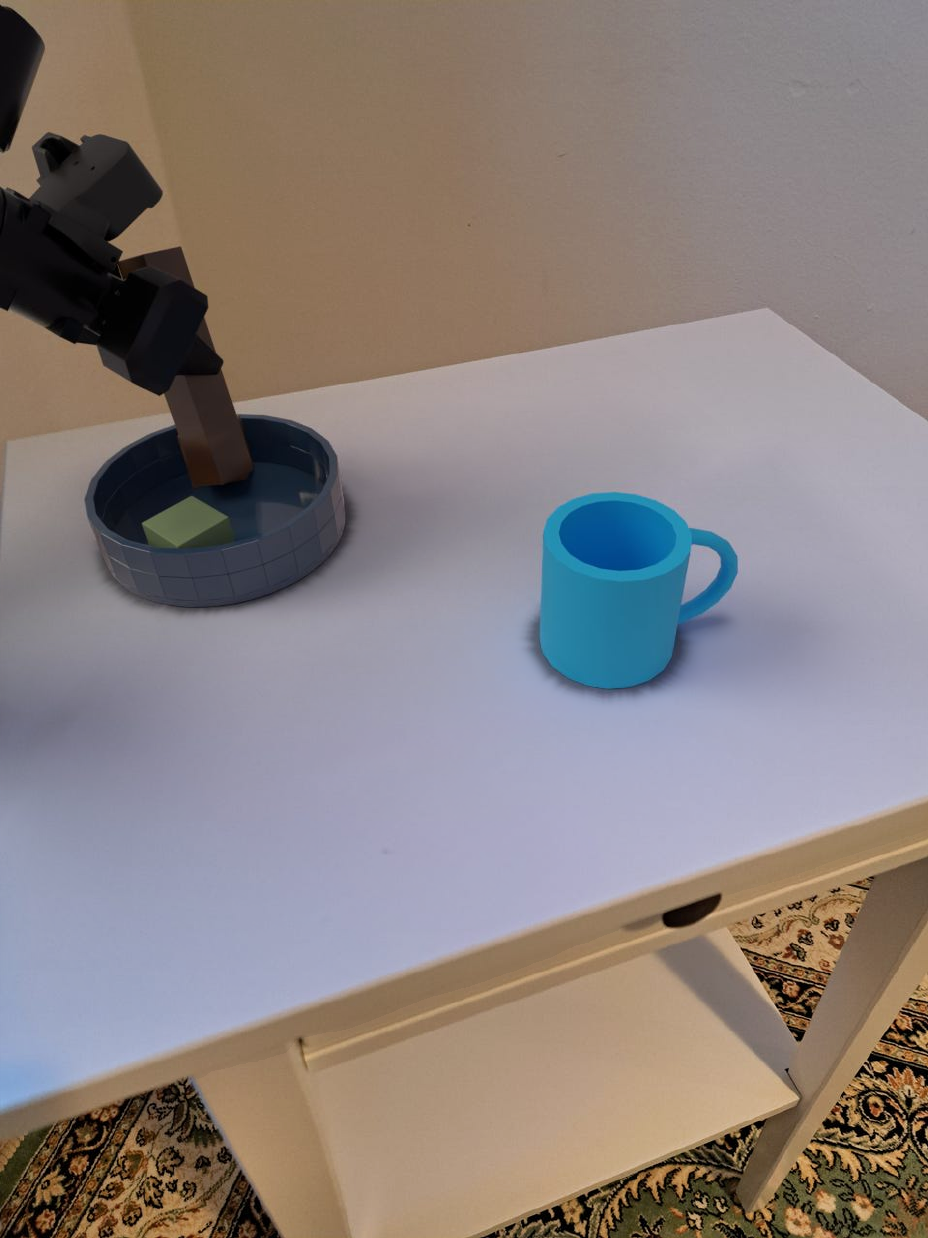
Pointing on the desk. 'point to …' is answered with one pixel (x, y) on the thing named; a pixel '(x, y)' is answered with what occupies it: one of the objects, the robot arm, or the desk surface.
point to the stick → (200, 397)
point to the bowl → (256, 507)
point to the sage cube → (188, 526)
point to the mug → (620, 587)
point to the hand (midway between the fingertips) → (202, 357)
